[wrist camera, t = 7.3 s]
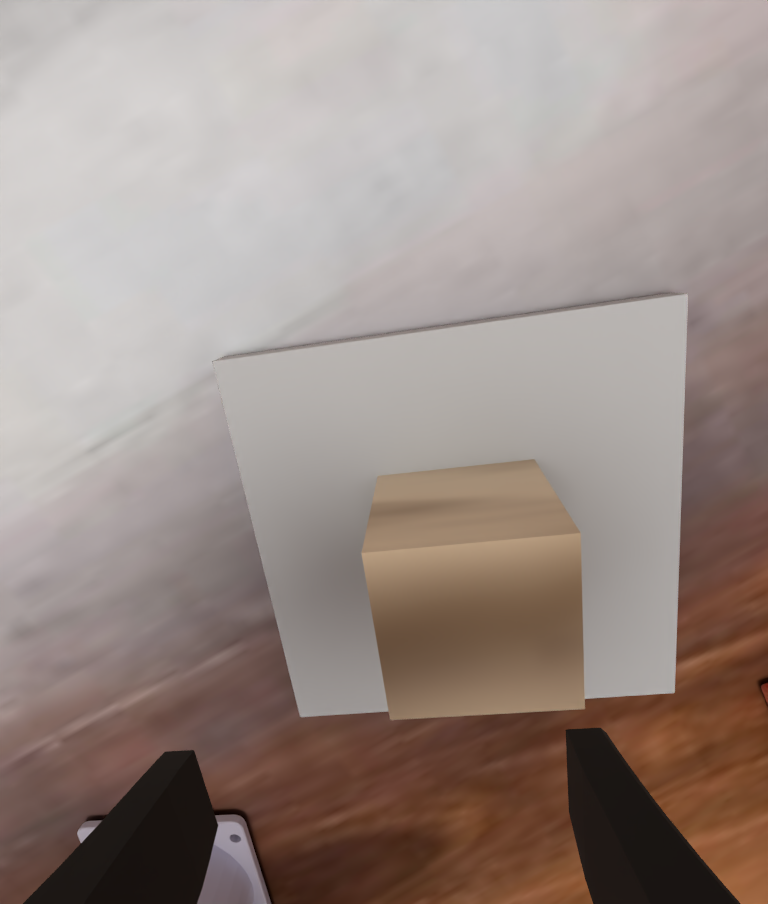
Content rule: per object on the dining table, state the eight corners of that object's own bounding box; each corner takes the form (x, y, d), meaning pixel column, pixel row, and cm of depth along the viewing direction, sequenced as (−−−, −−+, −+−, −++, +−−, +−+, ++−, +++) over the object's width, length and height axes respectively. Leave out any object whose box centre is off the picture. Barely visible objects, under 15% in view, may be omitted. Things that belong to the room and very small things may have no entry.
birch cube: (541, 595, 18) (585, 709, 13) (397, 606, 18) (390, 719, 14) (534, 458, 16) (581, 533, 12) (377, 475, 17) (361, 553, 12)
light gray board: (662, 673, 20) (674, 693, 19) (305, 697, 21) (300, 717, 20) (671, 292, 16) (688, 293, 15) (223, 356, 17) (212, 361, 16)
